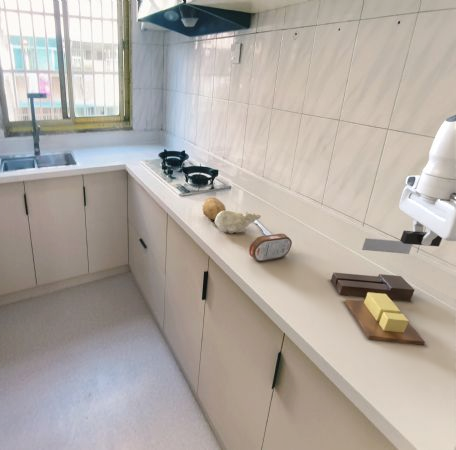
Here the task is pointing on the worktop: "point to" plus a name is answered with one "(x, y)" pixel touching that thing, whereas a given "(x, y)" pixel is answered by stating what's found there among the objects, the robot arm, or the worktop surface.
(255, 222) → the butter knife
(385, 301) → the butter
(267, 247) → the tin
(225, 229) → the cream lumpy tapered piece
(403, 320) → the butter pat
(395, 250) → the knife
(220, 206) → the potato
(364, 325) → the board
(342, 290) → the knife stand
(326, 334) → the worktop surface
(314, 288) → the worktop surface
